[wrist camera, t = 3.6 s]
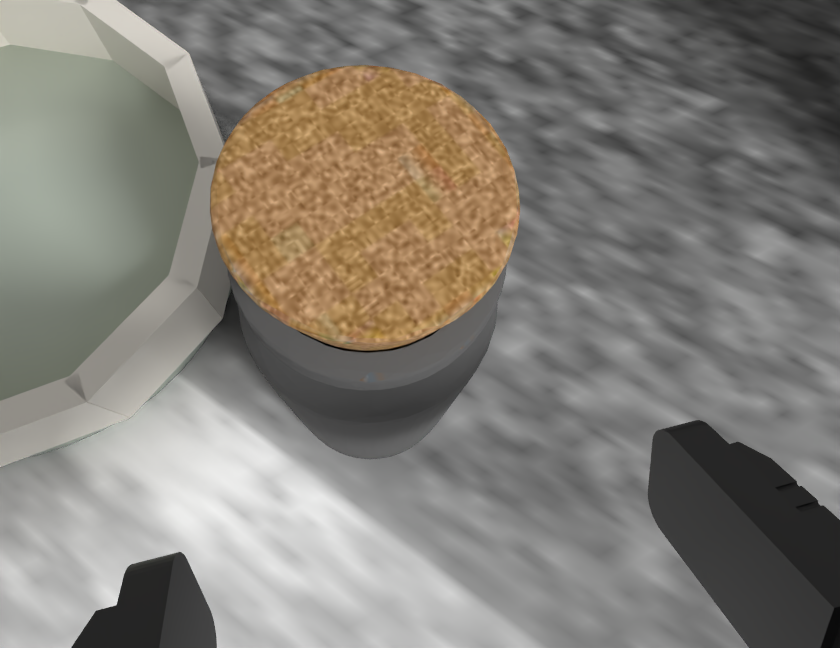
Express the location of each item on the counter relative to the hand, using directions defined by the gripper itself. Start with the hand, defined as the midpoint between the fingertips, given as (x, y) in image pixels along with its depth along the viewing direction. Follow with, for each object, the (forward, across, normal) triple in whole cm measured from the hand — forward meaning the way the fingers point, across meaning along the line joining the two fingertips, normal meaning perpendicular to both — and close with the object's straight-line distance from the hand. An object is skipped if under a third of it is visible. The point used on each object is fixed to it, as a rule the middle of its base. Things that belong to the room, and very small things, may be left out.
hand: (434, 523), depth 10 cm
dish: (+19, +13, -1) cm, 23 cm away
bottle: (+12, 0, +6) cm, 14 cm away
